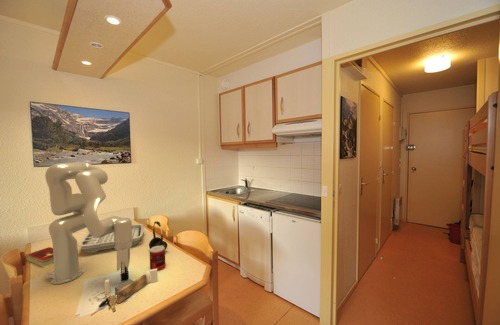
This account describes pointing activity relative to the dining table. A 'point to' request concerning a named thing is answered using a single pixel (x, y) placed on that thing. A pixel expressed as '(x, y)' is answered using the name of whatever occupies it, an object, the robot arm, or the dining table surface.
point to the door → (131, 288)
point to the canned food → (157, 258)
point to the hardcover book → (41, 257)
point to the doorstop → (122, 285)
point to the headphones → (157, 239)
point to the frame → (151, 275)
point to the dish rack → (107, 240)
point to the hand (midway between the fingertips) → (124, 279)
